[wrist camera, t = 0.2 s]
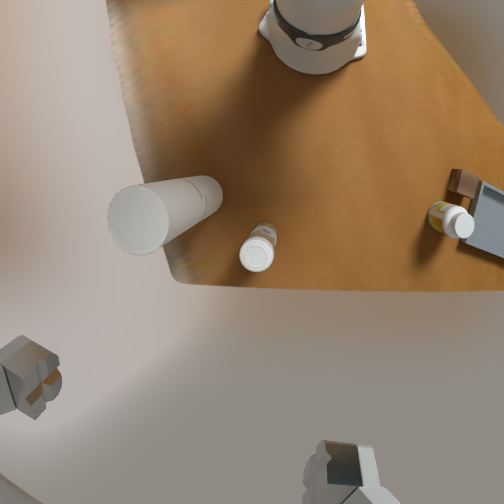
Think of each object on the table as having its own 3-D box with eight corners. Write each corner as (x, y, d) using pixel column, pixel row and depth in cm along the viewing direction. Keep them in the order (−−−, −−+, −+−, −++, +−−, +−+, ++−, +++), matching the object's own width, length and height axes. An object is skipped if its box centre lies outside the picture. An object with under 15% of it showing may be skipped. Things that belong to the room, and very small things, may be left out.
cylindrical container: (211, 167, 53) (147, 172, 29) (230, 204, 54) (181, 236, 30) (176, 187, 55) (97, 207, 31) (195, 222, 56) (127, 266, 32)
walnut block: (451, 168, 47) (462, 169, 44) (468, 176, 47) (479, 177, 43) (446, 189, 48) (456, 191, 45) (463, 196, 48) (473, 199, 44)
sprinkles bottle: (280, 224, 54) (276, 243, 41) (275, 249, 55) (269, 276, 42) (253, 219, 54) (241, 236, 42) (249, 244, 56) (236, 269, 43)
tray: (476, 179, 47) (482, 180, 45) (527, 206, 46) (533, 208, 44) (459, 240, 50) (465, 243, 48) (511, 260, 49) (517, 264, 47)
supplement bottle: (446, 234, 50) (471, 247, 41) (423, 224, 51) (446, 236, 41) (455, 207, 49) (482, 215, 40) (433, 196, 49) (457, 203, 40)
